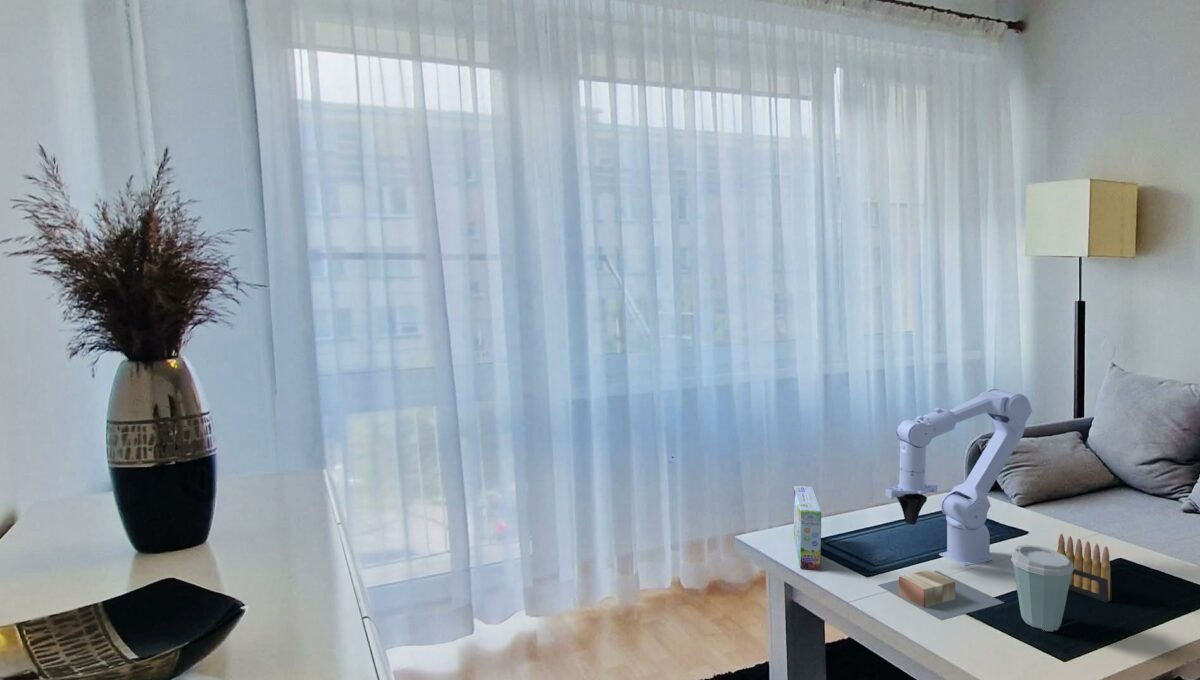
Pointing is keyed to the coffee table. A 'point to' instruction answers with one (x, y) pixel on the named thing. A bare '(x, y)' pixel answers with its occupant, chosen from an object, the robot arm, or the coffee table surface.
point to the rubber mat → (962, 604)
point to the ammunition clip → (1088, 570)
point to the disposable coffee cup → (1041, 585)
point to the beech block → (926, 588)
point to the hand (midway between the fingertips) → (910, 523)
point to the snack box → (807, 527)
